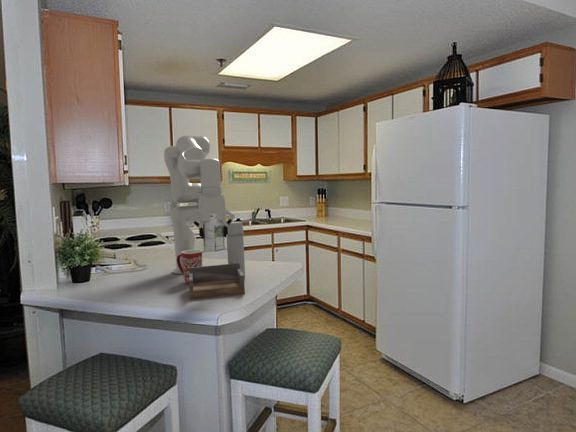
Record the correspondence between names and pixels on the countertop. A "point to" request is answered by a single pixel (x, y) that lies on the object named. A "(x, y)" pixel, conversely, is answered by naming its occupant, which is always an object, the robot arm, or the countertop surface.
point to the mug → (189, 262)
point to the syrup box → (213, 234)
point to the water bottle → (236, 245)
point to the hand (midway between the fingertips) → (213, 237)
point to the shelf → (216, 281)
